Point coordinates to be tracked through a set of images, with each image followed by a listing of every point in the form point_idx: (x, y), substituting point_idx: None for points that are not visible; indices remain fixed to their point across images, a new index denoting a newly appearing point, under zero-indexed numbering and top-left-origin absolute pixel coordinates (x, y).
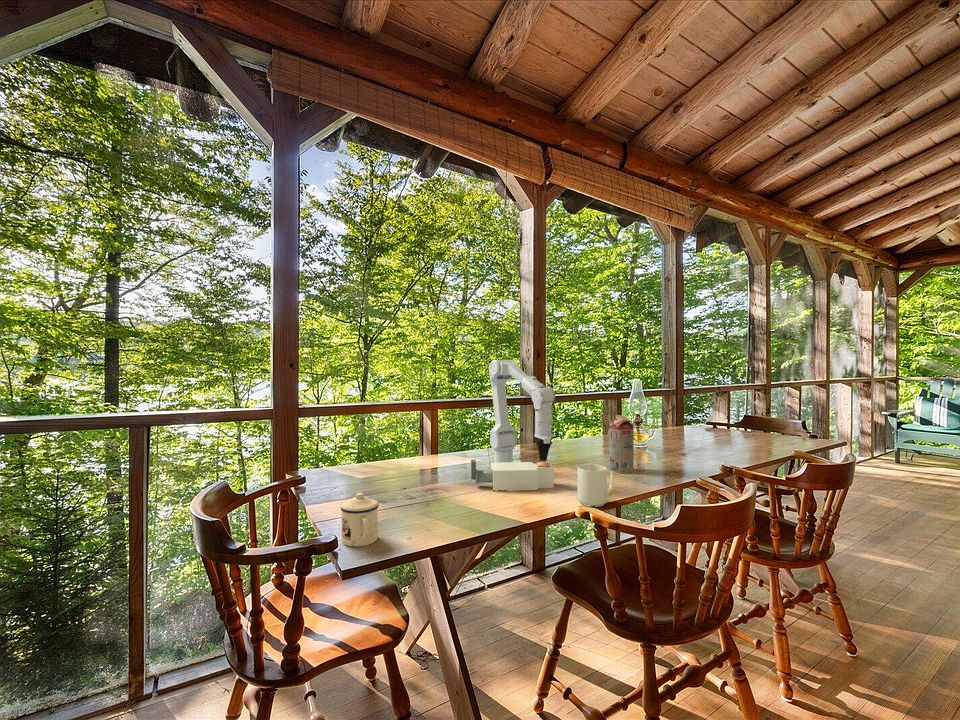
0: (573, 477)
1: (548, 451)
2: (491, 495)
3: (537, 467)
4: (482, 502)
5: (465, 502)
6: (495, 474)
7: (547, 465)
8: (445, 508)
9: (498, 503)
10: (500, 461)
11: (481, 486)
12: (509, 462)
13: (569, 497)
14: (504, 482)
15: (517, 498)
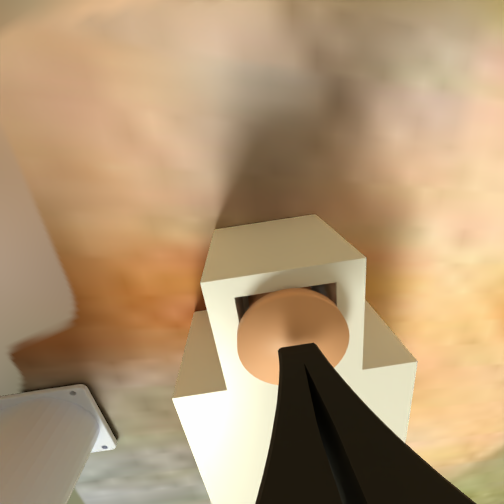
0: (23, 49)
1: (385, 424)
2: None
3: (343, 364)
4: (465, 431)
5: (454, 462)
6: None
7: (338, 310)
8: (491, 485)
9: (487, 396)
10: (68, 495)
11: None
12: (211, 491)
13: (490, 139)
14: None
15: (449, 352)
